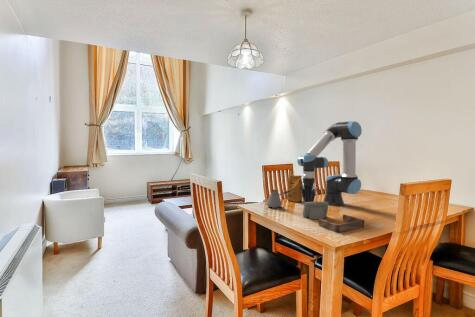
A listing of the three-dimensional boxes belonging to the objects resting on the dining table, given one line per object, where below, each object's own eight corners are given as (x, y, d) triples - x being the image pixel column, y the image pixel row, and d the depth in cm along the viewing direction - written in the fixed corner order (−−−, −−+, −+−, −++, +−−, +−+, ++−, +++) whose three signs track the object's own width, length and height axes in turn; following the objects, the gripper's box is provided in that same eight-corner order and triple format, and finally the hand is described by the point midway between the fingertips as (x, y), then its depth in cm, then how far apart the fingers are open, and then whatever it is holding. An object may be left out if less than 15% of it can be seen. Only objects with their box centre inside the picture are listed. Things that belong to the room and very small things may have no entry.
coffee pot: (263, 207, 195) (263, 187, 194) (272, 204, 203) (272, 185, 202) (287, 212, 180) (287, 191, 179) (296, 209, 188) (296, 189, 187)
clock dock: (318, 225, 150) (318, 219, 150) (344, 220, 161) (344, 214, 160) (337, 233, 138) (337, 225, 138) (364, 226, 149) (364, 220, 149)
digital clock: (326, 216, 171) (327, 200, 171) (329, 220, 162) (330, 203, 162) (301, 215, 173) (302, 199, 173) (303, 219, 164) (303, 202, 164)
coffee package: (291, 198, 225) (292, 173, 223) (304, 201, 216) (304, 175, 214) (284, 200, 218) (285, 174, 216) (297, 203, 209) (297, 176, 207)
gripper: (297, 176, 176) (297, 210, 177) (311, 179, 165) (310, 215, 166) (306, 176, 180) (305, 209, 181) (320, 178, 168) (319, 213, 169)
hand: (308, 212), depth 173 cm, fingers closed
